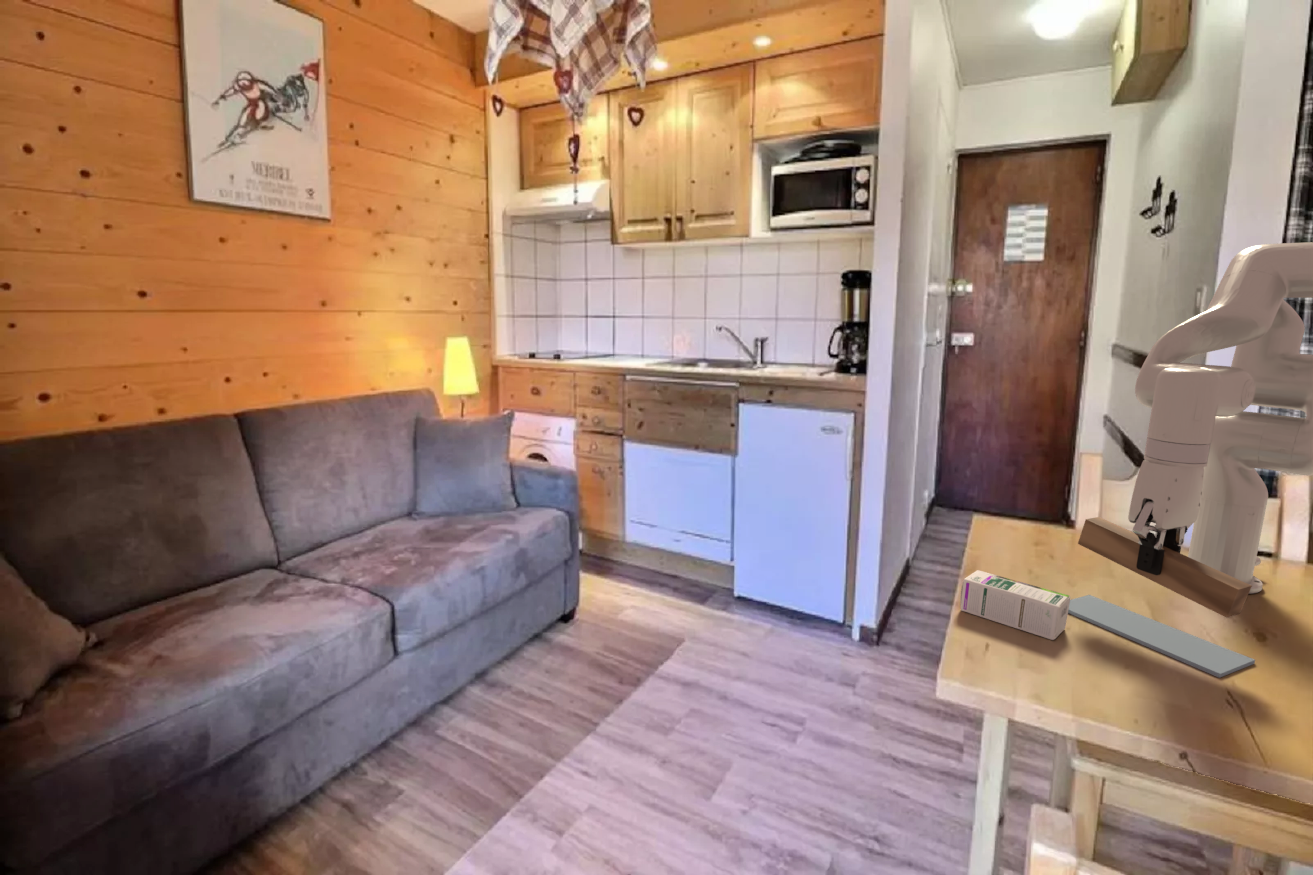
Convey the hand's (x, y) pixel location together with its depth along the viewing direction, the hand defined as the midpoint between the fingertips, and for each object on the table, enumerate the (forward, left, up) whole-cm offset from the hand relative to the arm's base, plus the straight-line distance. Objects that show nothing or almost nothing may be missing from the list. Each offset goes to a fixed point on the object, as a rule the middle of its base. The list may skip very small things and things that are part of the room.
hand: (1156, 568), depth 104 cm
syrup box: (+13, -5, -8) cm, 16 cm away
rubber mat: (0, 0, -11) cm, 11 cm away
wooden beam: (0, 0, -1) cm, 1 cm away
